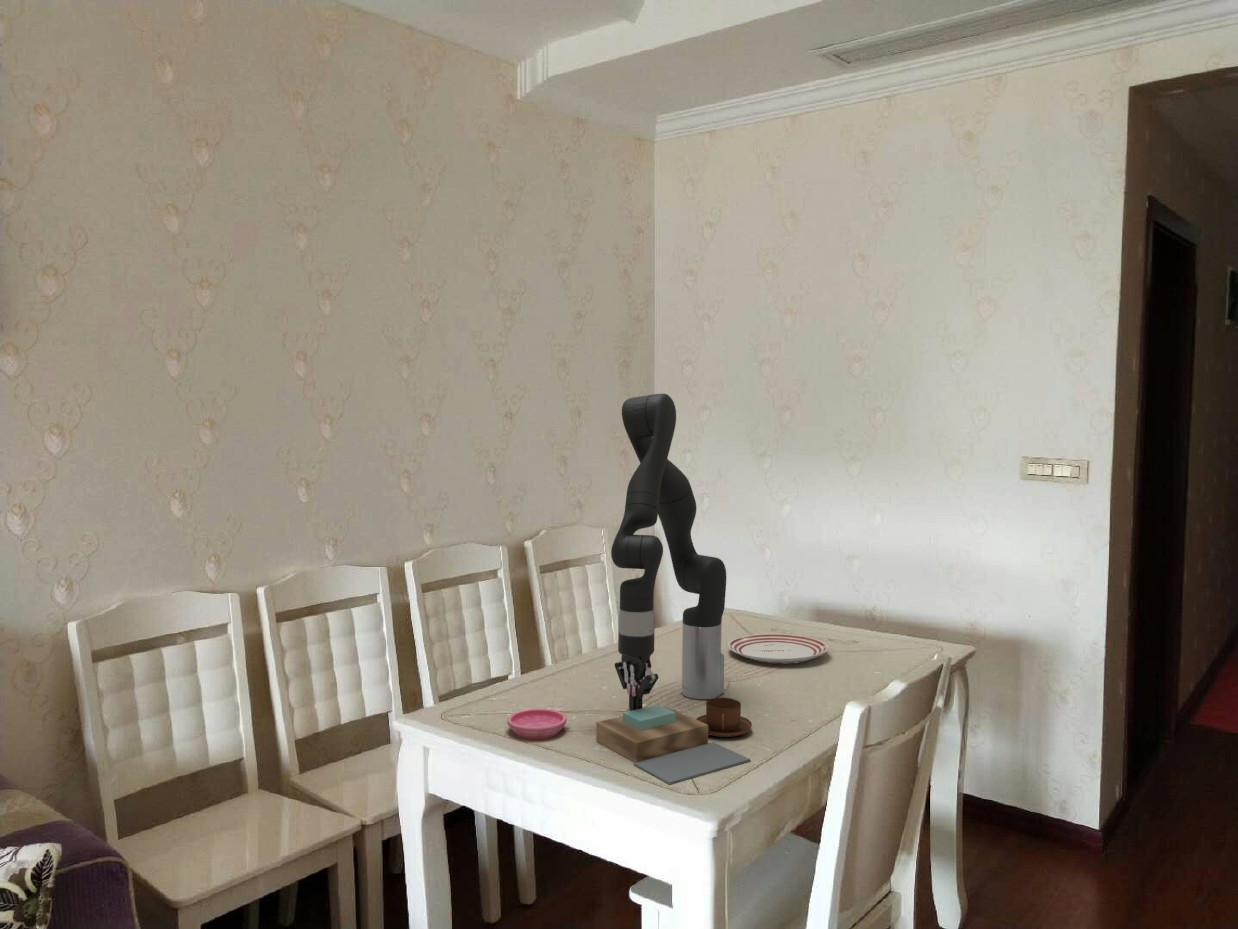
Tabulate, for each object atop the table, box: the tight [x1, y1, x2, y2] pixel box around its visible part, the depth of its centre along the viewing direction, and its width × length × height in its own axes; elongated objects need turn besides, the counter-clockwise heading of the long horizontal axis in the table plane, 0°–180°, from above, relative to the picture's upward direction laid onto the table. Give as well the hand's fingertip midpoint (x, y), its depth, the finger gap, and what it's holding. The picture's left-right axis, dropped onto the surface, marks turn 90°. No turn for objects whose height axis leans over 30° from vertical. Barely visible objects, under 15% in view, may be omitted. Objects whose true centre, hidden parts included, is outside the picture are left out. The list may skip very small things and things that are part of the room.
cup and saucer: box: [695, 697, 753, 738], centre depth 199 cm, size 12×12×6 cm
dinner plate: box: [727, 633, 829, 664], centre depth 259 cm, size 28×27×3 cm
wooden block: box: [595, 705, 709, 763], centre depth 191 cm, size 18×14×4 cm
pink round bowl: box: [506, 708, 568, 740], centre depth 198 cm, size 12×12×3 cm
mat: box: [633, 741, 751, 785], centre depth 181 cm, size 20×11×1 cm, turn 125°
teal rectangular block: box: [622, 704, 676, 731], centre depth 192 cm, size 9×6×2 cm, turn 125°
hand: (635, 712), depth 195 cm, fingers closed
